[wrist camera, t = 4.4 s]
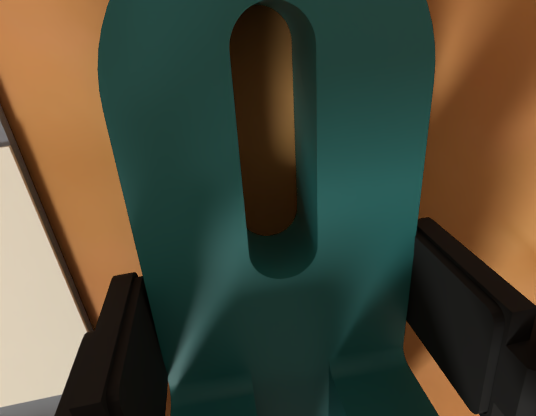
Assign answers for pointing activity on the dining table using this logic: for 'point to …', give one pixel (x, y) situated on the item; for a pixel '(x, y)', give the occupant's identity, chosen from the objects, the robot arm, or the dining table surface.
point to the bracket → (308, 203)
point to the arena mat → (32, 296)
